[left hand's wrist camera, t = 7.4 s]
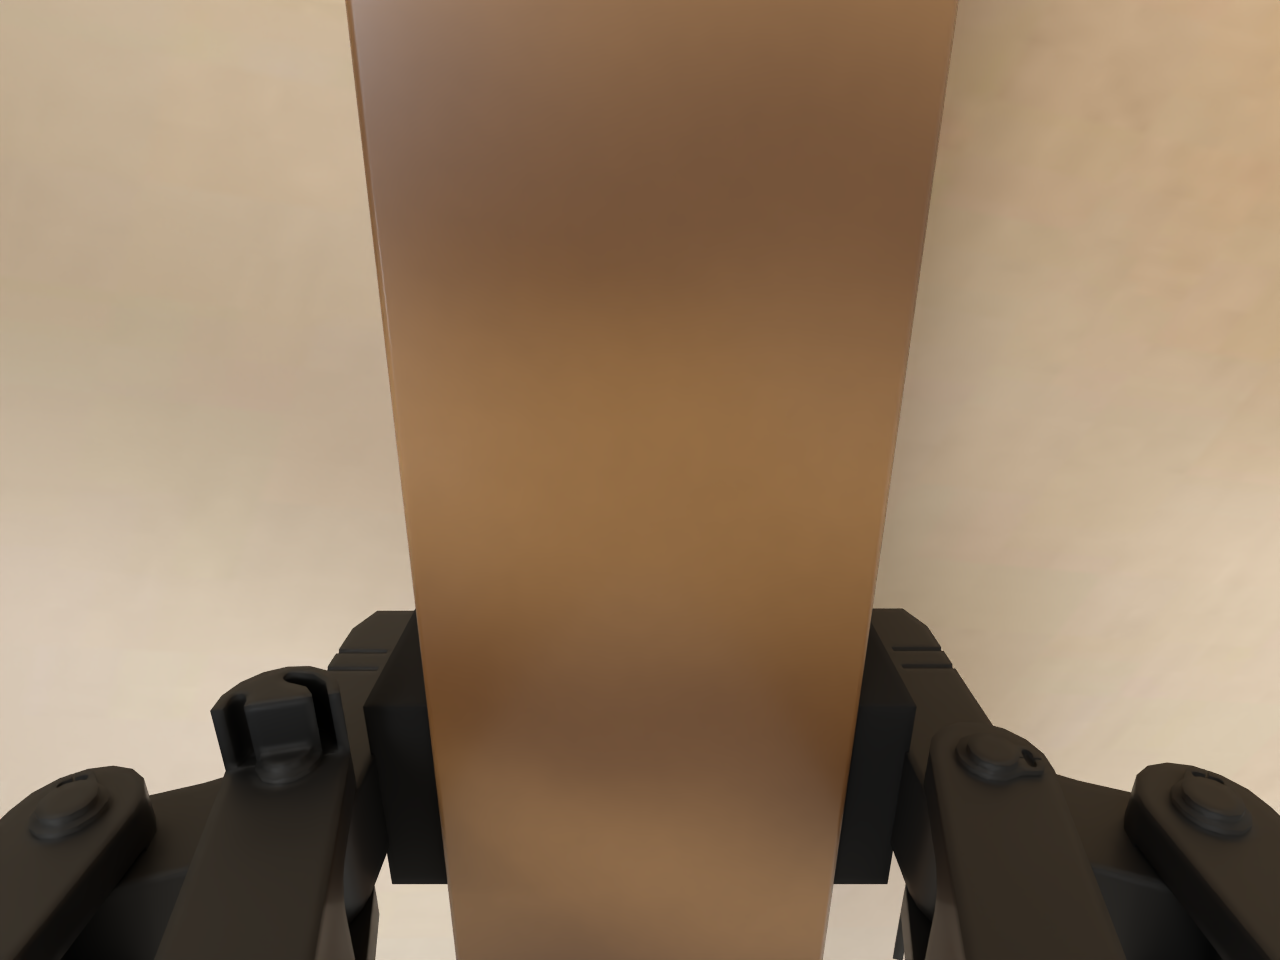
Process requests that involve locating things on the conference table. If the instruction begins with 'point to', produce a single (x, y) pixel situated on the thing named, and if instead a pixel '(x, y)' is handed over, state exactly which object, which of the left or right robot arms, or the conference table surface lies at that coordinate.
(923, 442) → the conference table surface
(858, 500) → the bar
